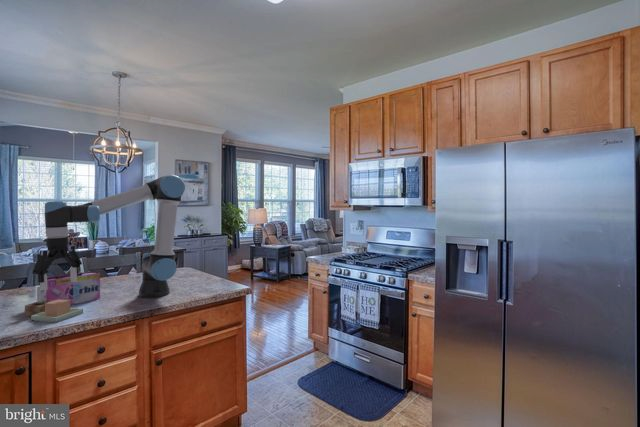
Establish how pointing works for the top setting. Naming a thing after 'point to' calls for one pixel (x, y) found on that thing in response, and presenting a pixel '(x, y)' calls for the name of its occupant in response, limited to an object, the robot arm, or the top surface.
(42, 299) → the pin
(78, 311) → the tray
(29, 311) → the bore block
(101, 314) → the top surface
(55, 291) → the gum box
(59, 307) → the cube
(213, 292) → the top surface
